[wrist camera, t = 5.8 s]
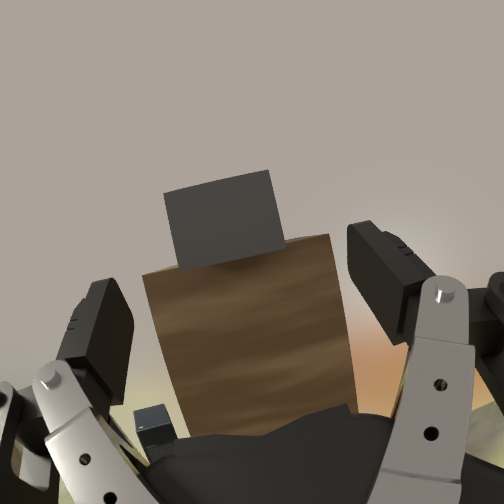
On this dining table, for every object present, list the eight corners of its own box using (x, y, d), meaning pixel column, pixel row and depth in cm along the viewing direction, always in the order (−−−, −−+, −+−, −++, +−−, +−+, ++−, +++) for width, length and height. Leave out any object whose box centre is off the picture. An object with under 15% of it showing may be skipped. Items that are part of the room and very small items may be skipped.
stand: (366, 543, 21) (311, 161, 20) (252, 570, 21) (127, 202, 20) (338, 480, 33) (284, 192, 32) (248, 500, 33) (167, 218, 32)
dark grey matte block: (286, 248, 12) (268, 169, 12) (179, 272, 12) (163, 193, 12) (256, 246, 31) (249, 215, 31) (215, 256, 31) (208, 225, 31)
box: (193, 474, 41) (171, 421, 40) (159, 484, 38) (134, 431, 38) (183, 451, 48) (164, 401, 48) (153, 459, 46) (131, 410, 45)
